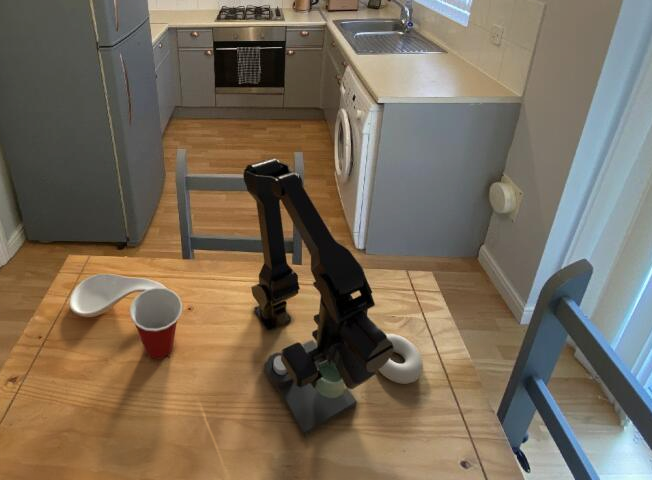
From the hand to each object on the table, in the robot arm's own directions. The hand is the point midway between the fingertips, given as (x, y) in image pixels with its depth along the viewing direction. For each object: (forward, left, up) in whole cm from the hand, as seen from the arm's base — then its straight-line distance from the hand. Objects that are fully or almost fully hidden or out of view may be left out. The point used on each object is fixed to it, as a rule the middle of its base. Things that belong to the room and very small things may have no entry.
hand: (328, 377), depth 80 cm
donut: (+2, +17, -5) cm, 17 cm away
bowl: (0, 0, -1) cm, 1 cm away
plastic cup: (-23, -26, -5) cm, 36 cm away
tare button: (-6, -7, -2) cm, 9 cm away
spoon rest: (-38, -32, -5) cm, 50 cm away
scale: (-2, -2, -4) cm, 6 cm away
